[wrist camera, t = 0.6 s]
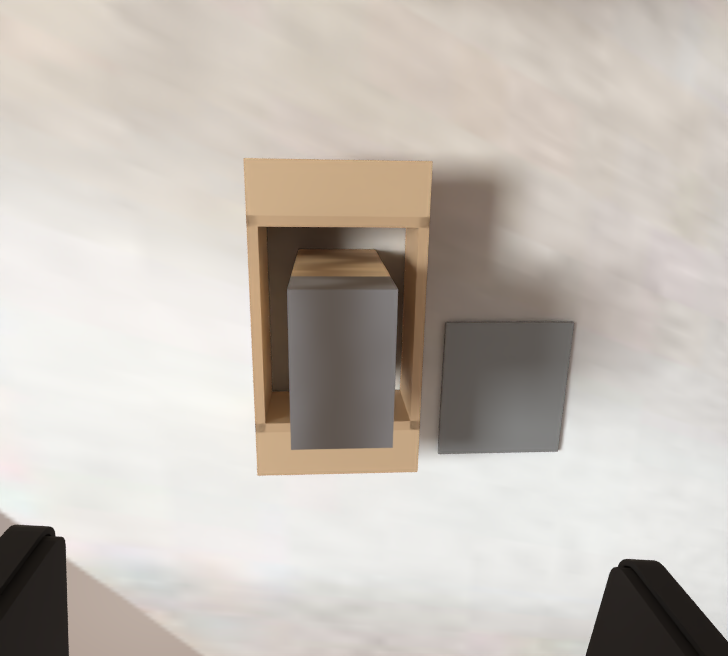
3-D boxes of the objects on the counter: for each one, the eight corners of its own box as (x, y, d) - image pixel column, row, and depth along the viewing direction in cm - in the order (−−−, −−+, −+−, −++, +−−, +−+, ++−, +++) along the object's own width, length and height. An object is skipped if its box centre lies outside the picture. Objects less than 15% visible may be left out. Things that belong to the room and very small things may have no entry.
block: (374, 249, 37) (398, 289, 25) (372, 363, 39) (392, 447, 28) (298, 248, 36) (287, 289, 25) (300, 364, 39) (291, 449, 27)
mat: (572, 321, 39) (574, 322, 39) (556, 449, 42) (557, 451, 42) (445, 322, 38) (446, 323, 38) (437, 452, 41) (438, 453, 41)
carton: (417, 161, 35) (432, 161, 30) (406, 435, 41) (417, 471, 36) (254, 158, 35) (243, 158, 30) (265, 437, 40) (257, 475, 35)
